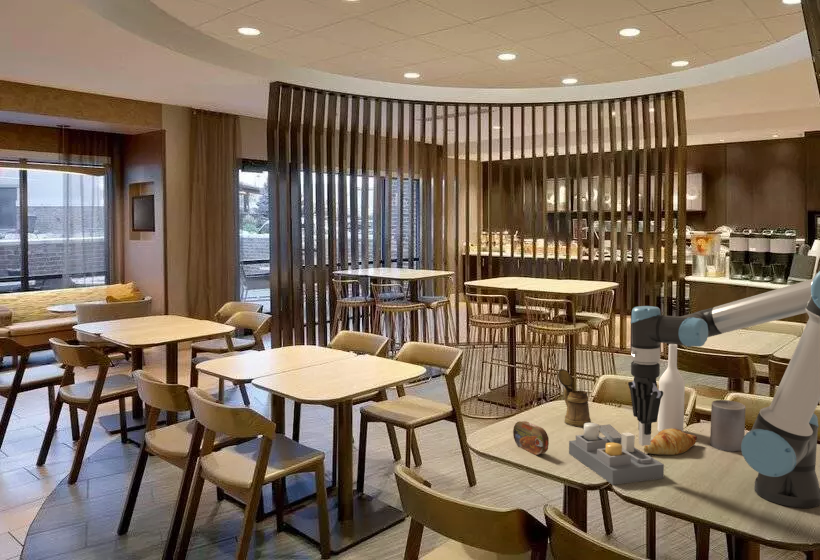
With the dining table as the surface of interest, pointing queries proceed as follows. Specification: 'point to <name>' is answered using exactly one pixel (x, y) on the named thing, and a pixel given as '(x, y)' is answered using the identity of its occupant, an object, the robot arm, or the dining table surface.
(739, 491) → the dining table surface
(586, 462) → the panel
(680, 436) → the croissant
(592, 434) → the white button
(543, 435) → the tin
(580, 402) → the wooden mug
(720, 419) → the pillar candle
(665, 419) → the bottle
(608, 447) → the amber button
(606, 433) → the plate
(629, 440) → the slider knob
